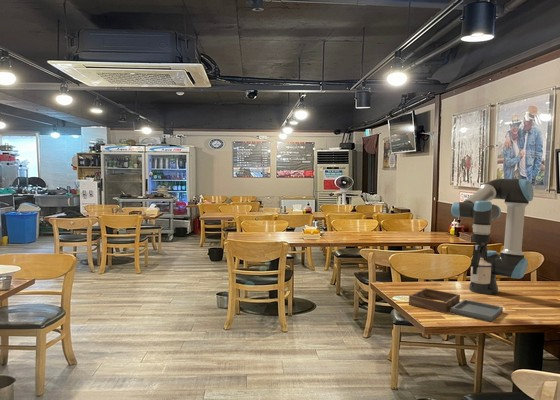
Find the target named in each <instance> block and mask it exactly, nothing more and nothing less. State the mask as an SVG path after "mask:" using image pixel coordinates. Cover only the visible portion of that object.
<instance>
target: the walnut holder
mask: <svg viewBox="0 0 560 400" xmlns="http://www.w3.org/2000/svg"><path fill="white" fill-rule="evenodd" d="M460 297H461V295H460V294H458V293H451V292H446V291H442V290H441V291H440V290H436V289H432V288H431V289H430V288H427V287H425V288H423V289H420V290H418V291H416V292H414V293H412V294H410V295H409V296H408V305H409V306H413V307H417V308H422V309H427V310H430V311H436V312H440V313H444V314H445V313H447V312H449V311H451V307H453V306H455V305H456V304H458V303H459V302H461V301H460V300H461V298H460ZM442 301H443V302H442Z"/></svg>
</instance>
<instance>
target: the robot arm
mask: <svg viewBox="0 0 560 400" xmlns="http://www.w3.org/2000/svg"><path fill="white" fill-rule="evenodd" d="M492 200H504V204H505V205H506V206H507V207H506V218H505V228H504V229H505V231H504V243H503V244H504V245H503V249H502V250H500V252H499V253H500V254H499V253H498V251H496V250H488V243H490V241H491V239H490V238H491V235H490V234H491V223H492V221H494V220H497V219H499V218H500V217H501V215H502V209H501V207H500V206H498V205H497V204H492ZM533 200H534V187H533V184H532V182H531V180H529V179H526V178H496V179H492V180H490V181H487V182H485V183H483V184H481V185H480V186H479V188H478V190H477V191H476V192H474V193H473V194H471V195H470V196H468V197H467V198H466V199H465V200H463V201H462V202H460V201H458V202H453V203H452V205H451V208H450V209H451V210H450V211H451V212H450V213H451V215H452V217H456V218H463V219H472V220H473V223H472V225H471V228H472V235H471V239H472V240H471V241H472V242H476V243H475V244H473V251H472V256H471V262H470V265H469V266H470V268H471V267H472V281H477V282H478V275H479V267H478V266H479V261H480V258H484V260H485V261H487V262H488V263H490V264H491V265H492V266H491V279H490V284H478V283H474V282H471V281H470V283H469V286H468V287H469V288H468V290H470V291H471V292H473V293H477V294H483V295H497V294H499V286H498V283H497V279H496V276H501V277H505V278H511V279H522V278H523V277H524V276H525V274H526V273H527V269H528V266H529V262H528V258H526V257H525V254H524V252H523V250H522V247H523V237H524V224H525V212H526V207H527V206H529V202H531V201H533Z"/></svg>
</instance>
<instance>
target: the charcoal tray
mask: <svg viewBox="0 0 560 400" xmlns="http://www.w3.org/2000/svg"><path fill="white" fill-rule="evenodd" d="M503 308H504V307H503V306H499V305H495V304H489V303H484V302H478V301H475V300H469V299H462V300H461V301H460V302H459V303H458V304H456V305H455V306H453V307H451V309H450V314H454V315H457V316H462V317H466V318H471V319H475V320H479V321H485V322H490V323H493V322H494V321H495V320H496V319H497V318H498V317H499V316H501V314H502V313H503V311H504V309H503Z"/></svg>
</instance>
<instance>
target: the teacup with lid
mask: <svg viewBox="0 0 560 400" xmlns="http://www.w3.org/2000/svg"><path fill="white" fill-rule="evenodd" d="M491 266H492V265H491V264H490V263H488V262H487V261H485V260H484V258H480V261H479V266H478V267H479V275H478V282H477V281H472V267H470V283H471V282H474V283H478V284H490V279H491Z"/></svg>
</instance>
